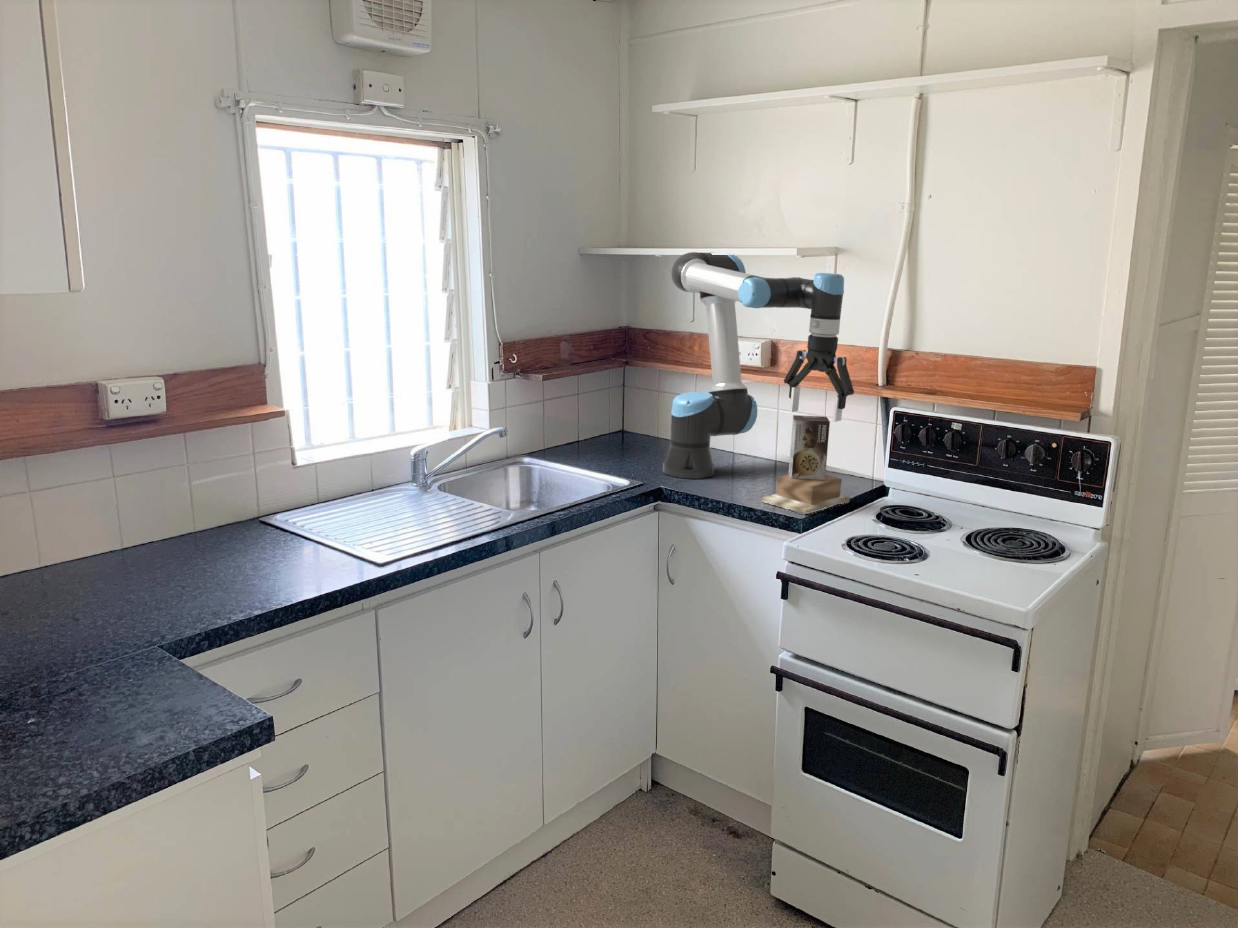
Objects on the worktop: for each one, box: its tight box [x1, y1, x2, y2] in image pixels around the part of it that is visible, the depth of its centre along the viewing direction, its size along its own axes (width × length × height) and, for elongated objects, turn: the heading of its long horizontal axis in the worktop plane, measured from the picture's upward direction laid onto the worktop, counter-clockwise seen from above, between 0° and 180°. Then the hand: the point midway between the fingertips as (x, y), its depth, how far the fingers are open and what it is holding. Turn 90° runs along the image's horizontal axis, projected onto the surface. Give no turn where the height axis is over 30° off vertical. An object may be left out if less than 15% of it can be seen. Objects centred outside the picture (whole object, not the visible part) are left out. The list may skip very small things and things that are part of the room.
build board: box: [761, 492, 851, 513], centre depth 245 cm, size 14×20×2 cm
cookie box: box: [788, 414, 831, 480], centre depth 243 cm, size 9×6×16 cm
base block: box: [776, 474, 843, 505], centre depth 245 cm, size 11×13×5 cm
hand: (814, 416), depth 240 cm, fingers open, 13 cm apart
